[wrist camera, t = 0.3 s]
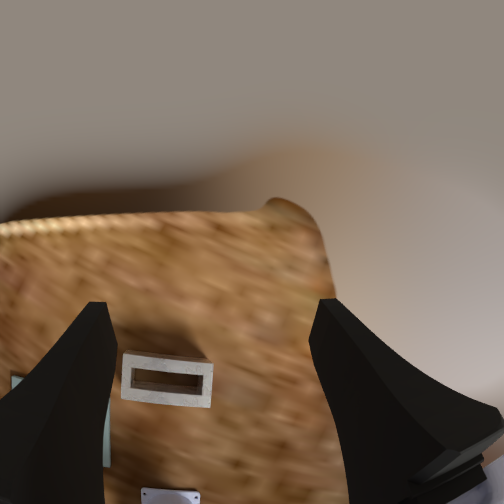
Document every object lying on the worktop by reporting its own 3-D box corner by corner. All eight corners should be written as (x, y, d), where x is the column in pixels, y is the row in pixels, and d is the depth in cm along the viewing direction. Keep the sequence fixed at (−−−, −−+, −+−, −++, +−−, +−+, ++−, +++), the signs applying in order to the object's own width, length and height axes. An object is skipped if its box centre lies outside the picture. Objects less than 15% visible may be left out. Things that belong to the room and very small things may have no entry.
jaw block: (204, 397, 37) (210, 407, 32) (125, 389, 35) (120, 398, 30) (207, 358, 38) (213, 363, 34) (128, 349, 36) (123, 353, 31)
